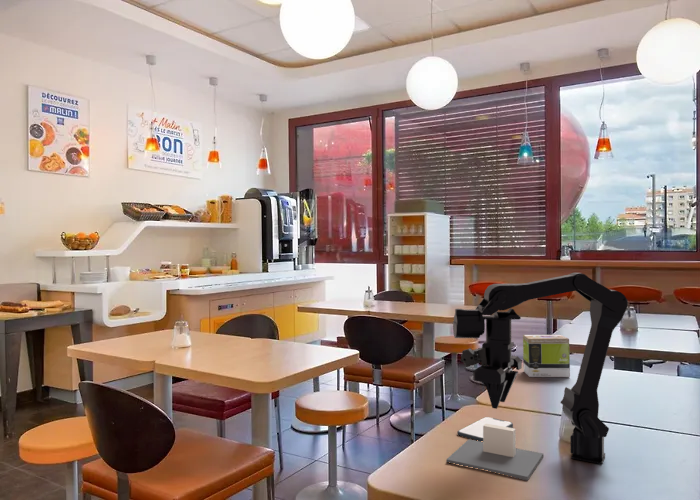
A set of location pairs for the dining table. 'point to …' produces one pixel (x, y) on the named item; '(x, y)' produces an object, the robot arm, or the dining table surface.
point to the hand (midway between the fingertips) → (498, 405)
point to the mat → (496, 460)
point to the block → (499, 440)
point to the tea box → (546, 356)
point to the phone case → (481, 427)
